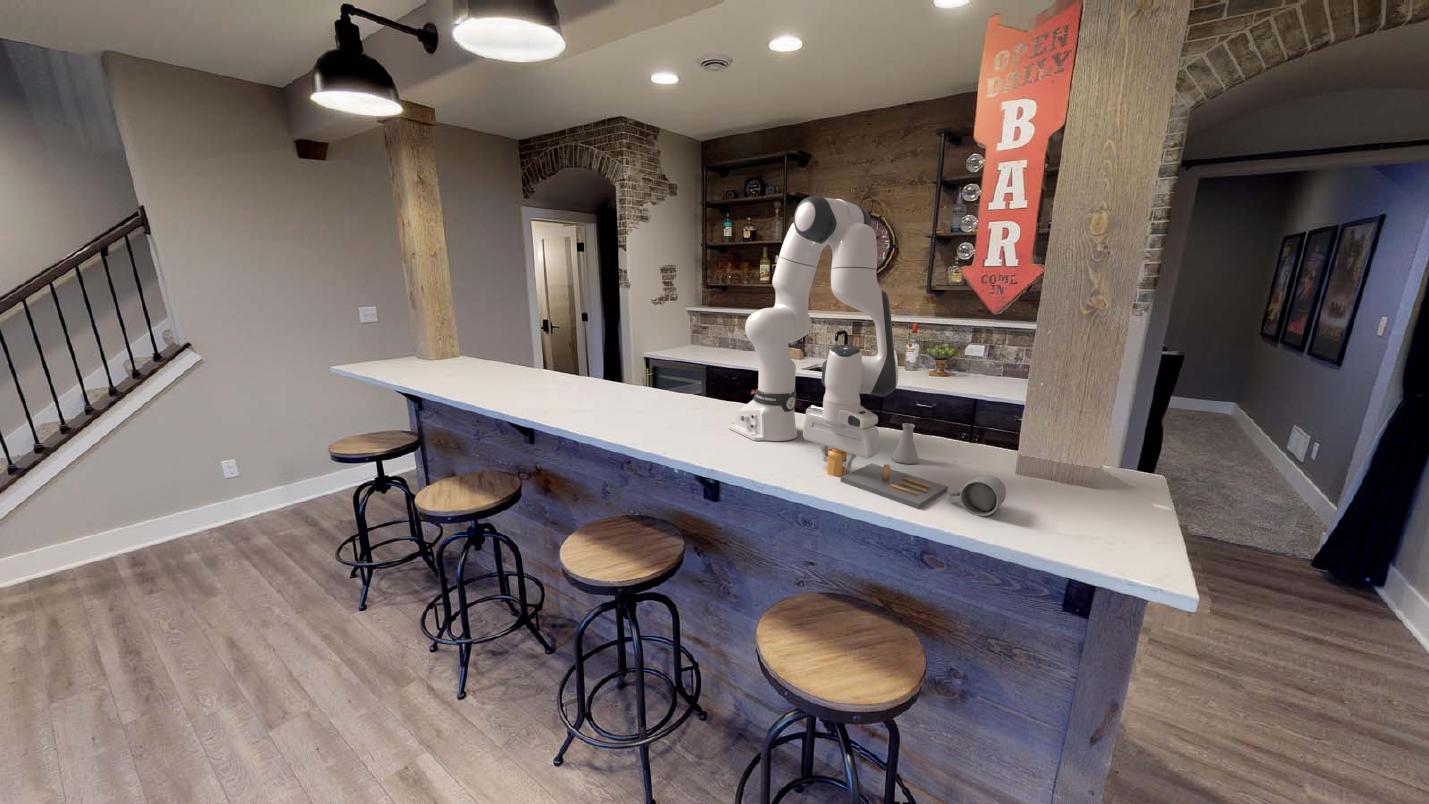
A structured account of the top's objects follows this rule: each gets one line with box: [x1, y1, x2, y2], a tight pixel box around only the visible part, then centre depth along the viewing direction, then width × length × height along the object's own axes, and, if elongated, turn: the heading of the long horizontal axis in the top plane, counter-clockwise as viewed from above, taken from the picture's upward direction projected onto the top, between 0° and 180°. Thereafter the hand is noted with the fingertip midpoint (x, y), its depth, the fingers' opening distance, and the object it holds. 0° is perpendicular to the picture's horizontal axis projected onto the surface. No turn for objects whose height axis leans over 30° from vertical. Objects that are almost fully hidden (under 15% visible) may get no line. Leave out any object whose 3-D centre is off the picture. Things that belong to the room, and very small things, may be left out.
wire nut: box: [826, 447, 848, 477], centre depth 134 cm, size 5×5×7 cm
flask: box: [891, 423, 920, 465], centre depth 143 cm, size 7×7×10 cm
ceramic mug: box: [948, 474, 1007, 517], centre depth 116 cm, size 11×8×8 cm
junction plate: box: [840, 462, 949, 510], centre depth 126 cm, size 20×14×5 cm
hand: (836, 464), depth 134 cm, fingers closed on wire nut, 4 cm apart
